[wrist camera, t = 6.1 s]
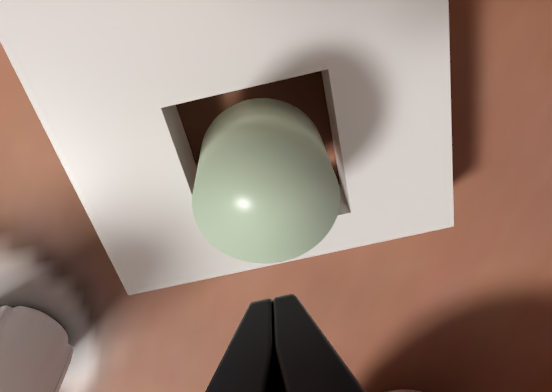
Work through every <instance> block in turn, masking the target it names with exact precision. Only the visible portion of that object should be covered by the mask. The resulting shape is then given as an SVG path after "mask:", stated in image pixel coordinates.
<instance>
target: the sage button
mask: <svg viewBox="0 0 552 392" xmlns="http://www.w3.org/2000/svg"><path fill="white" fill-rule="evenodd" d="M339 207H340V188H339V184H338V180H337V178H336V175H335V172H334V170H333V167H332V165H331V162H330V159H329V157H328V154H327V152H326V149H325V147H324V144H323V141H322V139H321V136H320V134H319V131H318V129H317V128H316V126H315V124H314V123H313V122H312V120H311V119H310V118H309V117H308V116H307V115H306V114H305V113H304V112H303V111H301V110H300V109H298V108H297V107H295V106H293V105H291V104H290V103H287V102H284V101H281V100H277V99H271V98H255V99H249V100H245V101H242V102H239V103H237V104H234V105H232V106H230V107H229V108H227V109H226V110H224V111H223V112H222V113H220V114H219V115H218V116H217V117H216V118H215V119H214V120H213V122H212V123H211V124H210V126H209V127H208V129H207V131H206V133H205V135H204V138H203V141H202V146H201V151H200V157H199V162H198V167H197V173H196V178H195V183H194V188H193V194H192V208H193V214H194V218H195V221H196V223H197V225H198V227H199V229H200V231H201V232H202V234H203V235H204V236H205V238H206V239H207V240H208V241H209V242H210V243H211V244H212V245H213V246H214V247H216V248H217V249H218V250H220V251H221V252H223V253H225V254H227V255H228V256H231V257H233V258H236V259H238V260H242V261H246V262H251V263H262V264H266V263H277V262H283V261H287V260H290V259H293V258H296V257H298V256H300V255H302V254H304V253H306V252H308V251H309V250H311V249H312V248H314V247H315V246H316V245H317V244H319V243H320V242H321V241H322V240H323V239H324V238H325V236H326V235H327V234H328V233H329V231H330V230H331V228H332V226H333V225H334V223H335V221H336V218H337V215H338V212H339Z"/></svg>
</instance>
